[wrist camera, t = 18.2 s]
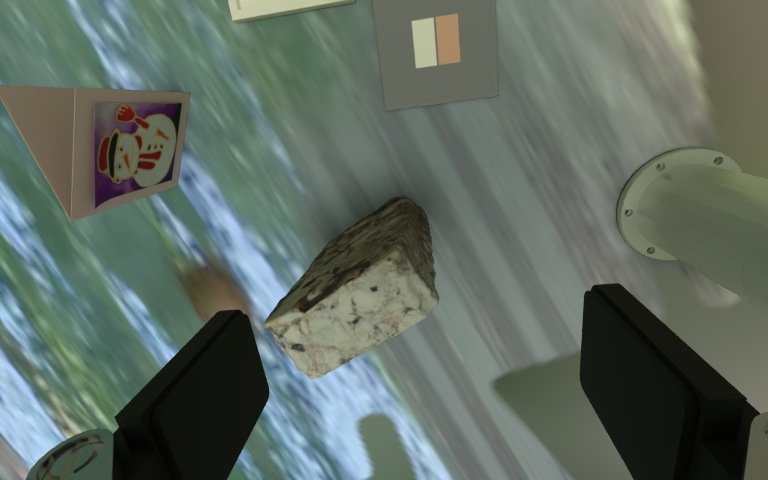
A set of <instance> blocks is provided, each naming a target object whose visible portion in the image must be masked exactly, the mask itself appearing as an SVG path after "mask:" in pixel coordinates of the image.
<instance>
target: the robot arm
mask: <svg viewBox="0 0 768 480" xmlns="http://www.w3.org/2000/svg"><path fill="white" fill-rule="evenodd" d="M657 165H658V166H657ZM626 210H627V211H626ZM625 211H626V212H625ZM617 223H618V227H619V230H620V233H621V235H622V236H623V238H624V239H625V241H626V242H627V243H628V244H629V245H630V246H631V247H632V248H634V249H635V250H636V251H638V252H639V253H641V254H643V255H645V256H647V257H650V258H653V259H657V260H666V261H673V260H680V261H682V262H684V263H685V264H687V265H689V266H690V267H692V268H694V269H695V270H697V271H699V272H700V273H702V274H704V275H705V276H707V277H709V278H710V279H712V280H714V281H715V282H717V283H719V284H720V285H722V286H723V287H725V288H727V289H728V290H730V291H732V292H733V293H735V294H737V295H738V296H740V297H742V298H743V299H745V300H747V301H749V302H750V303H752V304H753V305H755V306H757V307H759V308H760V309H762V310H764V311H766V312H767V313H768V178H763V177H758V176H754V175H749V174H744V173H743V171H742V169H741V168H740V167H739V166H738V165H737V163H736V162H735V161H734V160H732V159H731V158H730V157H728V156H727V155H725V154H723V153H720V152H717V151H715V150H709V149H704V148H684V149H678V150H674V151H671V152H667V153H665V154H663V155H661V156H658V157H656V158H654V159H653V160H651V161H650V162H648V163H647V164H645V165H644V166H643V167H642V168H641V169H640V170H639V171H637V172H636V173H635V174H634V176H633V177H632V178H631V179H630V181H629V182H628V183H627V185H626V187H625V188H624V190H623V192H622V194H621V197H620V200H619V203H618V209H617ZM580 382H581V385H582V388H583V391H584V392H585V394H586V396H587V398H588V399H589V401H590V403H591V405H592V406H593V408H594V410H595V412H596V414H597V415H598V417H599V419H600V421H601V422H602V424H603V426H604V428H605V429H606V431H607V433H608V435H609V436H610V438H611V440H612V442H613V443H614V445H615V447H616V449H617V451H618V452H619V454H620V456H621V458H622V459H623V461H624V463H625V465H626V466H627V468H628V470H629V471H630V473H631V475H632V477H633V479H634V480H768V412H765V413H762V414H760V413H759V412H758V411H757V410H756V409H755V408H754V407H752V406H751V405H750V404H749V403H748V402H747V401H746V400H747V398H746V397H745V396H743V395H742V394H741V393H740V392H739V391H738V390H737V389H736V388H735V387H733V386H732V385H731V384H730V383H729V382H728V381H727V380H726V379H725V378H723V377H722V376H721V375H720V374H719V373H718V372H717V371H716V370H715V369H714V368H712V367H711V366H710V365H709V364H708V363H707V362H706V361H705V360H703V359H702V358H701V357H700V356H699V355H698V354H697V353H696V352H695V351H694V350H692V349H691V348H690V347H689V346H688V345H687V344H686V343H685V342H684V341H682V340H681V339H680V338H679V337H678V336H677V335H676V334H675V333H674V332H673V331H671V330H670V329H669V328H668V327H667V326H666V325H665V324H664V323H663V322H662V321H660V320H659V319H658V318H657V317H656V316H655V315H654V314H653V313H652V312H650V311H649V310H648V309H647V308H646V307H645V306H644V305H643V304H642V303H640V302H639V301H638V300H637V299H636V298H635V297H634V296H633V295H632V294H630V293H629V292H628V291H627V290H626V289H625V288H624V287H623V286H622V285H620V284H619V283H616V284H602V285H594V286H592V289H591V291H586V292H585V295H584V308H583V326H582V343H581V362H580ZM268 398H269V386H268V383H267V379H266V376H265V372H264V369H263V365H262V362H261V358H260V355H259V351H258V348H257V344H256V341H255V338H254V334H253V331H252V327H251V324H250V320H249V317H248V316H247V315H246V314H243V313H242V311H241V310H225V311H219V312H217V313H216V314H215V315H214V316H213V317H212V318H211V319H210V320H209V321H208V322H207V323H206V324H205V325H204V326H203V327H202V328H201V329H200V331H199V332H198V333H197V334H196V335H195V336H194V337H193V338H192V339H191V340H190V341H189V342H188V343H187V344H186V345H185V346H184V347H183V348H182V349H181V350H180V351H179V352H178V353H177V354H176V355H175V356H174V357H173V358H172V359H171V360H170V361H169V362H168V363H167V364H166V365H165V366H164V367H163V368H162V369H161V370H160V371H159V372H158V373H157V374H156V375H155V376H154V377H153V378H152V380H151V381H150V382H149V383H148V384H147V385H146V386H145V387H144V388H143V389H142V390H141V391H140V392H139V393H138V394H137V395H136V396H135V397H134V398H133V399H132V400H131V401H130V402H129V403H128V404H127V405H126V406H125V407H124V408H123V409H122V410H121V411H120V412H119V413H118V414H117V415H116V416H115V419H116V421H117V423H118V425H119V428H118V429H117V430H116V431H115V432H114V433H113V434H112V432H111V431H109V430H108V429H100V428H98V429H93V430H88V431H85V432H82V433H80V434H77V435H75V436H73V437H71V438H69V439H67V440H65V441H63V442H61V443H60V444H58V445H57V446H56V447H54V448H53V449H51V450H50V451H48V452H47V453H46V454H45V455H44V456H43V457H42V458H40V459H39V460H38V461H37V463H36V464H35V465H34V466H33V467H32V468H31V470H30V472H29V474H28V476H27V478H26V480H227V478H228V476H229V474H230V472H231V470H232V469H233V467H234V465H235V463H236V461H237V459H238V457H239V455H240V453H241V451H242V449H243V447H244V445H245V443H246V441H247V440H248V438H249V436H250V434H251V432H252V430H253V428H254V426H255V424H256V422H257V420H258V418H259V416H260V414H261V412H262V411H263V409H264V407H265V405H266V403H267V401H268Z"/></svg>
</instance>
